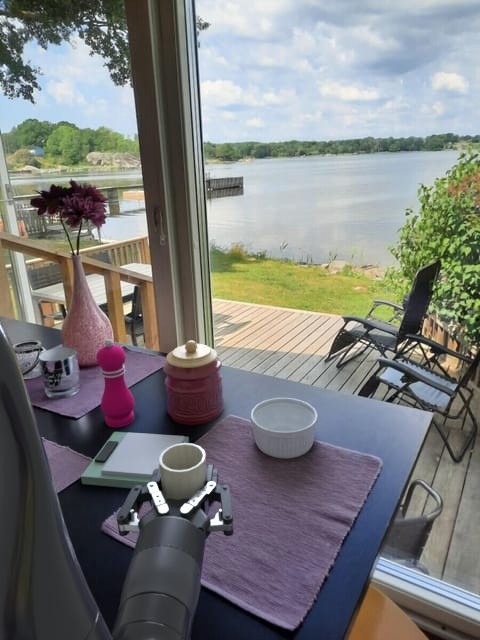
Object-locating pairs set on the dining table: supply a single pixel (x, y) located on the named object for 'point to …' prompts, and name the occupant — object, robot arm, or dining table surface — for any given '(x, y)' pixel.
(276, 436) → the ramekin
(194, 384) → the kitchen canister
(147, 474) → the scale
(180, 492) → the cup
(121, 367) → the pepper mill
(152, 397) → the dining table surface
